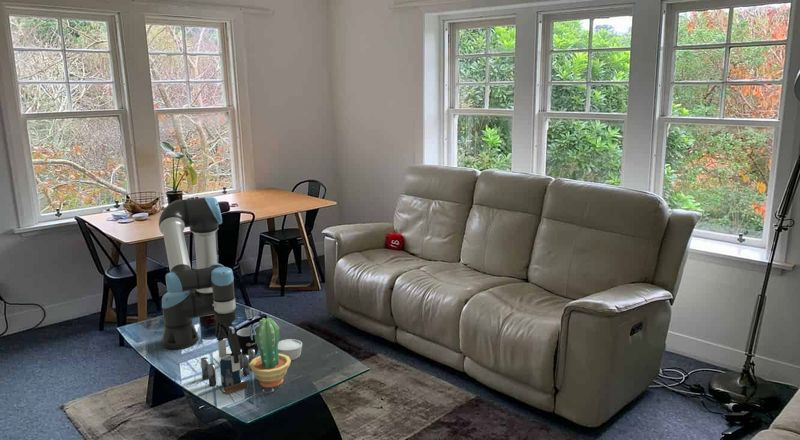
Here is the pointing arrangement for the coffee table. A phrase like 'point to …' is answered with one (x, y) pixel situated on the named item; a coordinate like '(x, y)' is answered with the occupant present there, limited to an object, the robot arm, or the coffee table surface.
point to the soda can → (228, 372)
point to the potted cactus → (268, 354)
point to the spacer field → (209, 369)
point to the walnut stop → (235, 388)
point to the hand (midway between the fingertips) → (229, 363)
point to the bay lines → (219, 389)
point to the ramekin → (290, 348)
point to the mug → (246, 341)
